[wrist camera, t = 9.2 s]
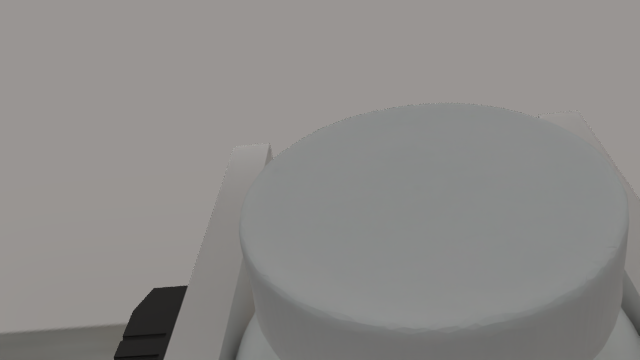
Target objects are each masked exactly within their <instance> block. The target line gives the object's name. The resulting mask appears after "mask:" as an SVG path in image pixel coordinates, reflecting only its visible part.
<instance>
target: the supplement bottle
mask: <svg viewBox="0 0 640 360" xmlns="http://www.w3.org/2000/svg"><path fill="white" fill-rule="evenodd" d="M628 230H629V209H628V200H627V194H626V191H625V189H624V187H623V185H622V183H621V181H620V179H619V178H618V176H617V174H616V172H615V171H614V169H613V168H612V166H611V165H610V164H609V163H608V161H607V160H606V159H605V158H604V157H603V155H602V154H601V153H600V152H599V151H598V150H597V149H595V148H594V147H593V146H592V145H590V144H589V143H587V142H586V141H584V140H583V139H582V138H580V137H579V136H577V135H575V134H573V133H571V132H570V131H568V130H566V129H564V128H562V127H560V126H558V125H556V124H554V123H551V122H549V121H546V120H544V119H541V118H537V117H533V116H530V115H527V114H524V113H521V112H516V111H512V110H508V109H504V108H498V107H492V106H483V105H475V104H460V103H440V104H439V103H438V104H419V105H407V106H401V107H394V108H389V109H385V110H380V111H373V112H369V113H366V114H360V115H357V116H353V117H350V118H347V119H344V120H341V121H338V122H336V123H333V124H331V125H329V126H326V127H323V128H321V129H318V130H317V131H315V132H313V133H312V134H310V135H308V136H306V137H304V138H302V139H301V140H299V141H298V142H296V143H295V144H293V145H292V146H290V147H289V148H287V149H286V150H284V151H283V152H282V153H280V154H279V155H278V156H276V157H275V158H274V159H272V160H271V161H270V162H269V163H268V164H267V165H266V166H265V167H264V169H263V170H262V171H261V172H260V173H259V175H258V176H257V177H256V179H255V181H254V182H253V184H252V185H251V187H250V188H249V190H248V191H247V193H246V196H245V199H244V202H243V205H242V209H241V215H240V220H239V237H240V244H241V249H242V253H243V257H244V262H245V265H246V269H247V272H248V276H249V280H250V284H251V289H252V293H253V300H254V306H255V313H254V315H253V317H252V318H251V320H250V322H249V324H248V326H247V328H246V330H245V333H244V335H243V337H242V340H241V343H240V346H239V349H238V353H237V356H236V359H235V360H640V336H639V335H638V333H637V331H636V329H635V327H634V325H633V323H632V322H631V321H630V319H629V318H628V316H627V315H626V313H625V312H624V310H623V309H622V308H621V302H622V296H623V273H624V265H625V258H626V250H627V240H628Z"/></svg>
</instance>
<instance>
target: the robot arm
mask: <svg viewBox="0 0 640 360" xmlns="http://www.w3.org/2000/svg"><path fill="white" fill-rule="evenodd" d="M538 118H541V119H544V120H546V121H549V122H551V123H554V124H556V125H558V126H560V127H562V128H564V129H566V130H568V131H570V132H571V133H573V134H575V135H577V136H579V137H580V138H582V139H583V140H584V141H586V142H587V143H589V144H590V145H592V146H593V147H594V148H595V149H597V150H598V151H599V152H600V153H601V154H602V155H603V157H604V158H605V159H606V160H607V161H608V163H609V164H610V165H611V166H612V168H613V169H614V171H615V172H616V174H617V176H618V178H619V179H620V181H621V183H622V185H623V187H624V189H625V191H626V194H627V200H628V209H629V230H628V240H627V250H626V258H625V265H624V273H623V296H622V302H621V308H622V309H623V310H624V312H625V313H626V315H627V316H628V318H629V319H630V321H631V322H632V323H633V325H634V327H635V329H636V331H637V333H638V335H639V336H640V199H639V198H638V196H637V195H636V193H635V192H634V191H633V189H632V188H631V186H630V185H629V183H628V182H627V180H626V179H625V177H624V176H623V175H622V173H621V172H620V170H619V169H618V167H617V166H616V165H615V163H614V162H613V160H612V159H611V157H610V156H609V154H608V153H607V152H606V150H605V149H604V147H603V146H602V144H601V143H600V141H599V140H598V138H597V137H596V136H595V134H594V133H593V131H592V130H591V128H590V127H589V126H588V124H587V123H586V121H585V120H584V118H583V117H582V115H581V114H580V112H579V111H569V112H559V113H549V114H540V115H538ZM272 159H273V156H272V151H271V147H270V143H266V144H257V145H247V146H238V147H234V149H233V152H232V155H231V158H230V161H229V164H228V167H227V170H226V173H225V176H224V179H223V182H222V185H221V188H220V191H219V194H218V197H217V200H216V203H215V206H214V209H213V212H212V215H211V218H210V221H209V224H208V227H207V230H206V233H205V236H204V239H203V242H202V245H201V248H200V251H199V255H198V257H197V260H196V263H195V266H194V269H193V272H192V275H191V279H190V282H189V284H188V286H177V287H163V288H154V289H153V290H152V291H151V292H150V293H149V294H148V295H147V297H145V299H144V300H143V301H142V302H141V303H140V304H139V305H138V307H136V309H135V310H134V311H133V313H132V315H131V318H130V320H129V322H128V325H127V327H126V329H125V332H124V334H123V341H120V344H119V346H118V348H117V351H116V353H115V356H114V360H235V359H236V356H237V353H238V349H239V346H240V343H241V340H242V337H243V335H244V333H245V330H246V328H247V326H248V324H249V322H250V320H251V318H252V317H253V315H254V313H255V306H254V300H253V293H252V289H251V284H250V280H249V276H248V272H247V269H246V265H245V262H244V257H243V253H242V249H241V244H240V237H239V220H240V215H241V209H242V205H243V202H244V199H245V196H246V193H247V191H248V190H249V188H250V187H251V185H252V184H253V182H254V181H255V179H256V177H257V176H258V175H259V173H260V172H261V171H262V170H263V169H264V167H265V166H266V165H267V164H268V163H269V162H270V161H271V160H272Z"/></svg>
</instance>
